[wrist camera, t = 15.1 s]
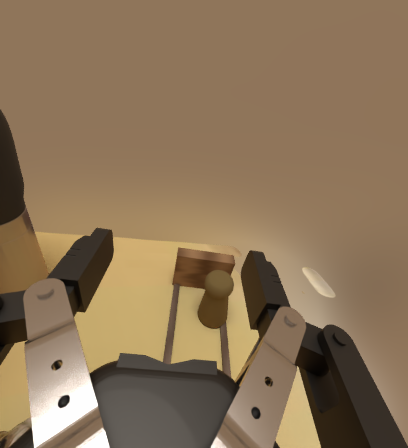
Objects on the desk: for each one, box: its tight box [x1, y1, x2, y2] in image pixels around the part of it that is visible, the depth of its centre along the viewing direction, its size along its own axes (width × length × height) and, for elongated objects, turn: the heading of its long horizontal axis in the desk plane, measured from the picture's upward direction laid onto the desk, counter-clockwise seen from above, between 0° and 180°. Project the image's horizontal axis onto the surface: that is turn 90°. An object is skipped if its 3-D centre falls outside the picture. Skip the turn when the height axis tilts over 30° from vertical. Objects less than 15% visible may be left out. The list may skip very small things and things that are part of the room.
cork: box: [198, 270, 234, 328], centre depth 39 cm, size 6×6×11 cm
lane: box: [163, 248, 235, 377], centre depth 36 cm, size 12×26×9 cm, turn 0°
